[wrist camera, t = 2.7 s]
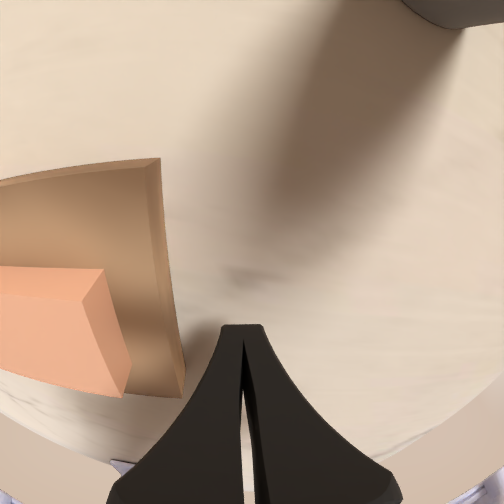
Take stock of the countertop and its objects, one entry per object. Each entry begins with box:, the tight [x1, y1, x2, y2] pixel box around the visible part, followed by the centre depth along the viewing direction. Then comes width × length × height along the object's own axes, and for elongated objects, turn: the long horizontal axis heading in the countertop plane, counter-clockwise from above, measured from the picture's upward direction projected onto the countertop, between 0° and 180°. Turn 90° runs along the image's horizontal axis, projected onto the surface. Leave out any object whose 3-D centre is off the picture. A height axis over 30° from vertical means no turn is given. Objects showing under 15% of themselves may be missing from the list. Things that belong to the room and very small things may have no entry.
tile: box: [0, 266, 132, 398], centre depth 9 cm, size 8×5×2 cm, turn 88°
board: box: [0, 158, 186, 398], centre depth 11 cm, size 11×16×2 cm
